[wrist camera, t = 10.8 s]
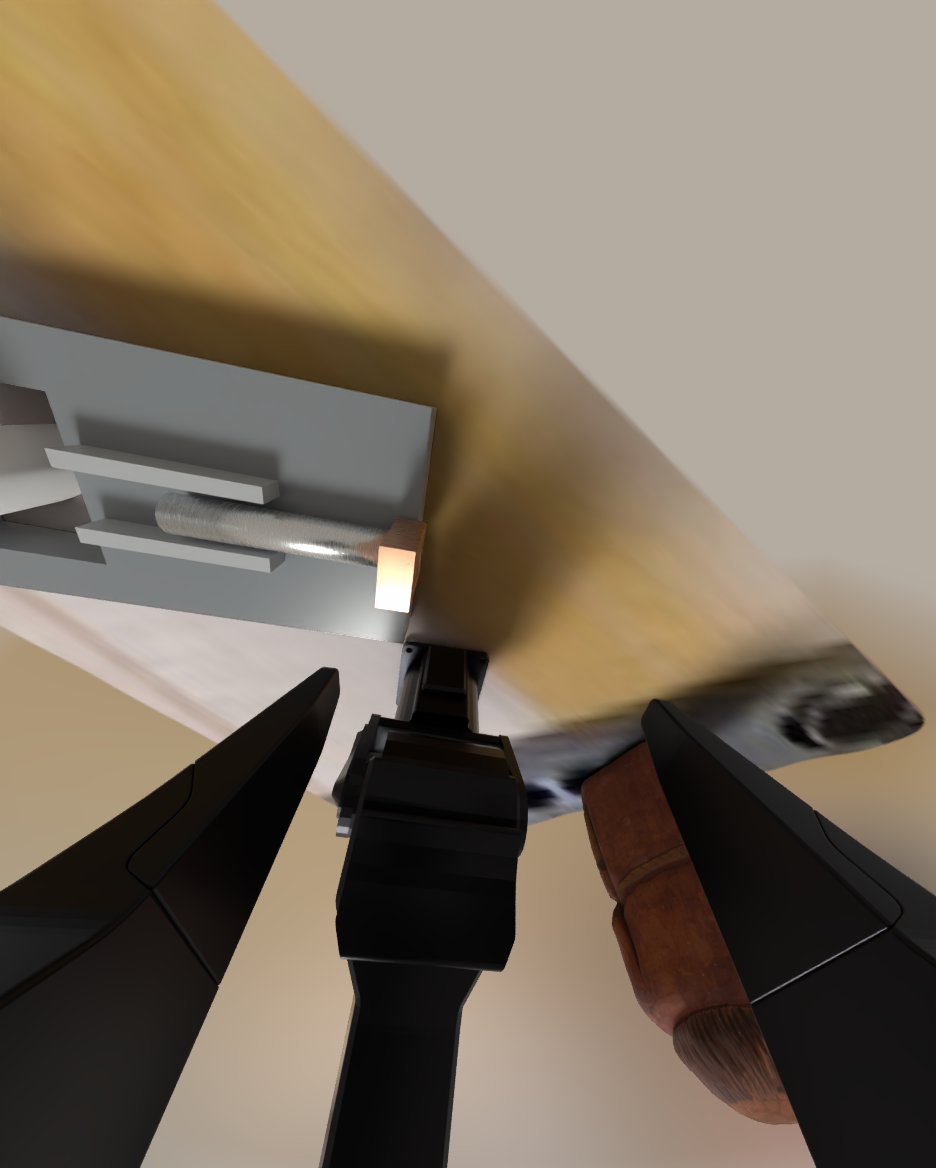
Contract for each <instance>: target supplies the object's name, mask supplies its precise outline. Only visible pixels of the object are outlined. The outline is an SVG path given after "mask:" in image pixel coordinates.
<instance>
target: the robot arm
mask: <svg viewBox="0 0 936 1168" xmlns="http://www.w3.org/2000/svg"><path fill="white" fill-rule="evenodd" d="M407 648H411V650H409V649H407ZM481 658H484V660H480V659H481ZM488 663H489V656H488V654H486V653H484V652H478V651H471V650H464V649H457V648H450V647H444V646H437V645H430V644H423V643H416V642H406V643H405V644H404V645H403V649H402V657H401V665H400V673H399V682H398V690H397V699H396V704H397V705H398V707H397V711H396V715H395V719H391V718H385V717H381V715H377V714H372V716H371V719H370V721H369V724H365V727H364V729H363V730H362V731H360V732H358V733H357V736H356V739H355V742H354V745H353V748H352V751H351V753H350V756H349V758H348V760H347V762H346V764H345V766H344V768H343V769H342V771H341V773H340V775H339V777H338V778H337V780H336V782H335V785H334V788H333V791H332V797H333V799H334V801H335V803H336V805H337V807H338V811H337V818H339V820H338V825H337V830H336V836H337V837H345V838H350V840H349V845H348V848H347V852H346V857H345V861H344V865H343V869H342V873H341V878H340V882H339V886H338V890H337V894H336V910H337V916H336V933H337V940H338V947H339V954H340V958H341V959H347V961H348V966H349V970H350V975H351V980H352V984H353V989H354V997H353V1002H352V1007H351V1012H350V1017H349V1021H348V1026H347V1032H346V1036H345V1041H344V1046H343V1051H342V1056H341V1061H340V1066H339V1071H338V1075H337V1080H336V1085H335V1090H334V1095H333V1100H332V1105H331V1110H330V1115H329V1120H328V1124H327V1129H326V1134H325V1140H324V1144H323V1149H322V1154H321V1159H320V1164H319V1168H447V1162H448V1151H449V1141H450V1130H451V1120H452V1119H451V1118H452V1109H453V1098H454V1088H455V1076H456V1066H457V1056H458V1044H459V1034H460V1025H461V1017H462V1008H463V1006H464V1004H465V1002H466V1000H467V998H468V997H469V995H470V993H471V991H472V989H473V987H474V986H475V984H476V982H477V980H478V978H479V977H480V975H481V973H482V971H483V970H484V971H485V970H486V971H497V972H501V971H502V970H503V969H504V968H505V965H506V963H507V960H508V957H509V955H510V952H511V949H512V946H513V944H514V941H515V900H516V898H515V897H516V873H517V861H518V857H519V856H520V855H521V852H522V850H523V847H524V844H525V840H526V833H527V823H528V804H527V795H526V789H525V785H524V782H523V779H522V776H521V773H520V770H519V767H518V764H517V761H516V758H515V755H514V752H513V750H512V747H511V744H510V741H509V738H508V736H502V735H499V736H493V735H487V734H481V733H479V721H478V699H479V695H480V692H481V688H482V684H483V681H484V677H485V674H486V670H487V667H488ZM339 695H340V684H339V672H338V669H336V668H328V667H322V668H320V669H319V670H318V671H316V672H315V673H313V674H312V675H311V676H309V677H308V678H307V679H305V680H304V681H303V682H301V683H300V684H299V685H297V686H296V687H295V688H293V689H292V690H290V691H289V692H288V693H286V694H285V695H284V696H282V697H281V698H280V699H278V700H277V701H276V702H274V703H273V704H272V705H270V706H269V707H267V708H266V709H265V710H263V711H262V712H261V713H259V714H258V715H257V716H255V717H254V718H253V719H251V720H250V721H249V722H247V723H246V724H244V725H243V726H242V727H240V728H239V729H238V730H236V731H235V732H234V733H232V734H231V735H230V736H228V737H227V738H226V739H224V740H223V741H222V742H220V743H219V744H217V745H216V746H215V747H213V748H212V749H211V750H209V751H208V752H207V753H205V754H204V755H203V756H201V757H200V758H199V759H197V760H196V761H195V764H190V765H189V766H188V767H186V768H185V769H183V770H182V771H181V772H179V773H178V774H177V775H175V776H174V777H173V778H171V779H170V780H168V781H167V782H166V783H164V784H163V785H161V786H160V787H159V788H157V789H156V790H154V791H153V792H152V793H150V794H149V795H148V796H146V797H145V798H143V799H142V800H140V801H139V802H137V803H136V804H134V805H133V806H131V807H130V808H128V809H127V810H126V811H124V812H122V813H121V814H119V815H118V816H116V817H115V818H113V819H112V820H110V821H109V822H107V823H106V824H104V825H102V826H101V827H99V828H98V829H96V830H95V831H93V832H92V833H90V834H89V835H87V836H86V837H84V838H82V839H81V840H79V841H78V842H76V843H75V844H74V845H72V846H70V847H69V848H67V849H66V850H64V851H62V852H61V853H59V854H58V855H56V856H55V857H53V858H52V859H50V860H48V861H47V862H45V863H44V864H42V865H41V866H40V867H38V868H36V869H35V870H33V871H32V872H30V873H28V874H27V875H25V876H24V877H22V878H21V879H19V880H18V881H16V882H14V883H13V884H11V885H10V886H8V887H6V888H5V889H3V890H2V891H0V1168H140V1166H141V1164H142V1162H143V1160H144V1157H145V1154H146V1153H147V1150H148V1148H149V1146H150V1144H151V1141H152V1139H153V1136H154V1134H155V1132H156V1130H157V1128H158V1125H159V1123H160V1121H161V1118H162V1116H163V1114H164V1112H165V1109H166V1107H167V1105H168V1102H169V1100H170V1098H171V1095H172V1093H173V1091H174V1089H175V1087H176V1084H177V1082H178V1080H179V1077H180V1075H181V1073H182V1071H183V1068H184V1066H185V1064H186V1061H187V1059H188V1057H189V1054H190V1052H191V1050H192V1048H193V1045H194V1043H195V1041H196V1038H197V1036H198V1034H199V1032H200V1029H201V1027H202V1025H203V1023H204V1020H205V1018H206V1016H207V1013H208V1011H209V1009H210V1007H211V1004H212V1002H213V1000H214V998H215V995H216V993H217V991H218V988H219V987H218V985H219V984H220V983H221V981H222V979H223V976H224V974H225V972H226V970H227V967H228V965H229V963H230V961H231V958H232V956H233V954H234V951H235V949H236V947H237V944H238V942H239V940H240V938H241V936H242V933H243V931H244V929H245V926H246V924H247V922H248V919H249V917H250V915H251V913H252V910H253V908H254V906H255V904H256V901H257V899H258V897H259V894H260V892H261V890H262V888H263V885H264V883H265V881H266V879H267V876H268V874H269V872H270V869H271V867H272V865H273V863H274V860H275V858H276V855H277V854H278V851H279V849H280V847H281V844H282V842H283V840H284V838H285V835H286V833H287V831H288V828H289V826H290V824H291V821H292V819H293V817H294V815H295V812H296V810H297V808H298V806H299V803H300V801H301V799H302V797H303V794H304V792H305V790H306V787H307V785H308V783H309V781H310V778H311V776H312V774H313V771H314V769H315V767H316V765H317V762H318V760H319V757H320V755H321V753H322V750H323V747H324V744H325V740H326V737H327V734H328V731H329V728H330V725H331V721H332V718H333V715H334V712H335V709H336V706H337V702H338V699H339ZM641 725H642V729H643V732H644V735H645V739H646V742H647V745H648V748H649V752H650V755H651V758H652V762H653V765H654V768H655V771H656V774H657V777H658V780H659V783H660V785H661V788H662V790H663V793H664V795H665V798H666V800H667V803H668V805H669V808H670V810H671V813H672V815H673V817H674V820H675V822H676V825H677V827H678V830H679V832H680V835H681V837H682V839H683V842H684V844H685V847H686V849H687V852H688V854H689V857H690V859H691V861H692V864H693V866H694V869H695V871H696V874H697V876H698V879H699V881H700V884H701V886H702V888H703V891H704V893H705V896H706V898H707V901H708V903H709V906H710V908H711V910H712V913H713V915H714V918H715V920H716V923H717V925H718V928H719V930H720V932H721V935H722V937H723V940H724V942H725V945H726V947H727V950H728V952H729V955H730V957H731V959H732V962H733V964H734V967H735V969H736V972H737V974H738V977H739V979H740V981H741V984H742V986H743V989H744V991H745V994H746V996H747V999H748V1001H749V1003H750V1004H751V1005H750V1006H751V1009H752V1011H753V1014H754V1016H755V1019H756V1021H757V1024H758V1026H759V1029H760V1031H761V1033H762V1036H763V1038H764V1041H765V1043H766V1046H767V1048H768V1051H769V1053H770V1055H771V1058H772V1060H773V1063H774V1065H775V1068H776V1070H777V1073H778V1075H779V1078H780V1080H781V1082H782V1085H783V1087H784V1090H785V1092H786V1095H787V1097H788V1100H789V1102H790V1104H791V1107H792V1109H793V1112H794V1114H795V1117H796V1119H797V1122H798V1124H799V1127H800V1129H801V1131H802V1134H803V1136H804V1139H805V1141H806V1144H807V1146H808V1149H809V1151H810V1154H811V1156H812V1158H813V1160H814V1163H815V1165H816V1168H936V896H935V895H934V894H932V893H931V892H929V891H928V890H926V889H925V888H924V887H922V886H921V885H919V884H917V883H916V882H915V881H913V880H912V879H910V878H909V877H907V876H906V875H904V874H903V873H901V872H900V871H899V870H897V869H896V868H895V867H893V866H892V865H890V864H889V863H888V862H886V861H885V860H883V859H882V858H880V857H879V856H878V855H876V854H875V853H873V852H872V851H870V850H869V849H868V848H866V847H865V846H863V845H862V844H861V843H859V842H858V841H857V840H855V839H854V838H852V837H851V836H850V835H848V834H847V833H846V832H844V831H843V830H842V829H840V828H839V827H837V826H836V825H834V824H833V823H832V822H831V821H829V820H828V819H827V818H825V817H824V816H823V815H821V814H820V813H819V812H818V811H816V810H813V809H812V807H811V806H809V805H808V804H807V803H805V802H804V801H803V800H801V799H800V798H799V797H797V796H796V795H795V794H793V793H792V792H791V791H789V790H788V789H787V788H785V787H784V786H783V785H781V784H780V783H779V782H777V781H776V780H774V779H773V778H772V777H771V776H769V775H768V774H767V773H765V772H764V771H763V770H761V769H760V768H759V767H757V766H756V765H755V764H753V763H752V762H751V761H749V760H748V759H747V758H745V757H744V756H743V755H741V754H740V753H739V752H737V751H736V750H735V749H733V748H732V747H731V746H729V745H728V744H727V743H725V742H724V741H723V740H721V739H720V738H719V737H717V736H716V735H715V734H713V733H712V732H711V731H709V730H708V729H707V728H705V727H704V726H702V725H701V724H700V723H698V722H697V721H696V720H694V719H693V718H692V717H690V716H689V715H688V714H686V713H685V712H684V711H682V710H681V709H680V708H678V707H677V706H676V705H674V704H673V703H672V702H670V701H669V700H666V699H656V698H655V699H652V700H651V701H650V703H649V705H648V707H647V708H646V710H645V712H644V714H643V716H642V719H641Z"/></svg>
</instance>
